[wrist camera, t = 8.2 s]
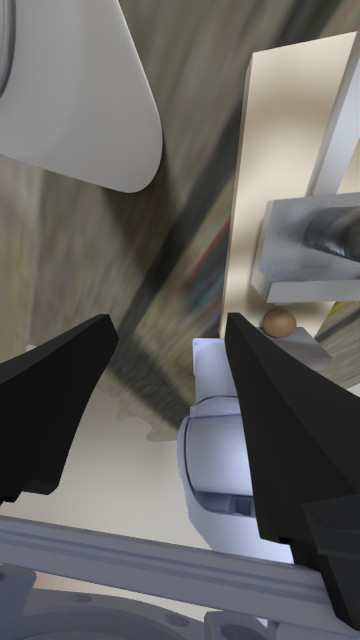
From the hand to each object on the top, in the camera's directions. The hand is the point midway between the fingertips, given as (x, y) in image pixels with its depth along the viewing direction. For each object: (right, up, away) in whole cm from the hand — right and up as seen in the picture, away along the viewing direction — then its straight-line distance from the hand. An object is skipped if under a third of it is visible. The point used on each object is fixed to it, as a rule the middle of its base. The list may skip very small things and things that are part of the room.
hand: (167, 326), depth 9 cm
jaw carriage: (+11, +7, +3) cm, 14 cm away
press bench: (+12, +8, +6) cm, 15 cm away
